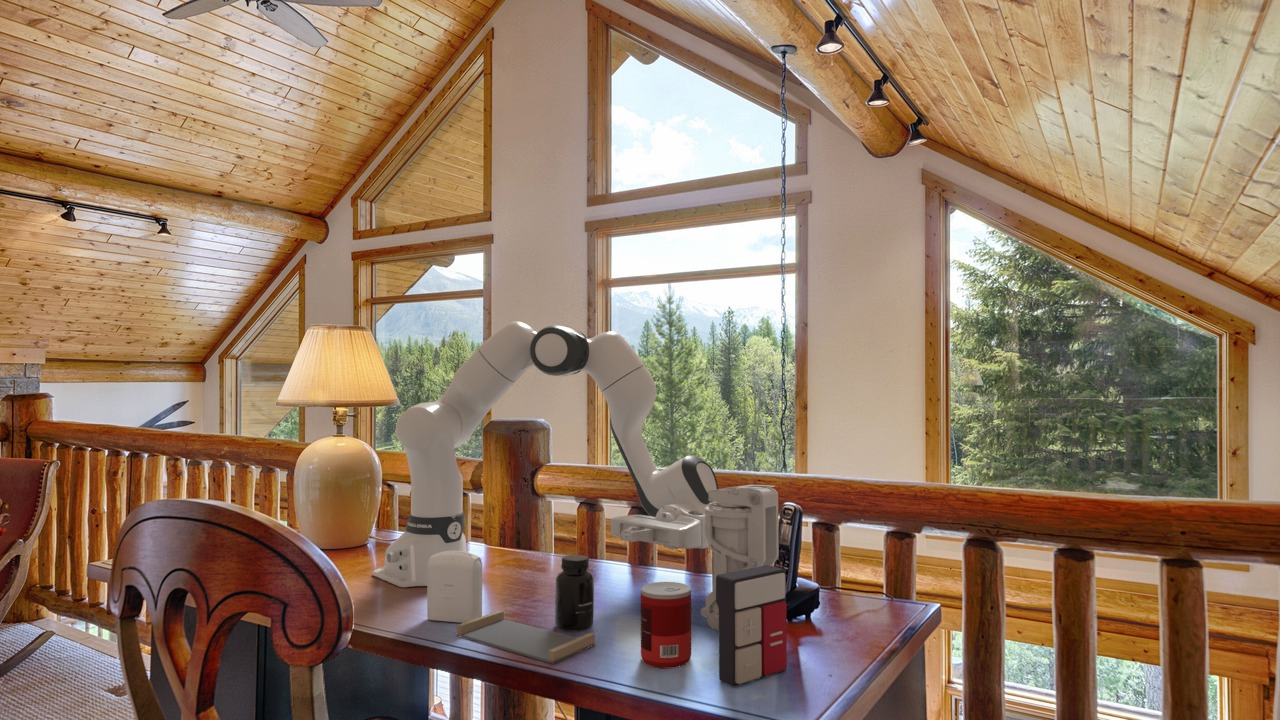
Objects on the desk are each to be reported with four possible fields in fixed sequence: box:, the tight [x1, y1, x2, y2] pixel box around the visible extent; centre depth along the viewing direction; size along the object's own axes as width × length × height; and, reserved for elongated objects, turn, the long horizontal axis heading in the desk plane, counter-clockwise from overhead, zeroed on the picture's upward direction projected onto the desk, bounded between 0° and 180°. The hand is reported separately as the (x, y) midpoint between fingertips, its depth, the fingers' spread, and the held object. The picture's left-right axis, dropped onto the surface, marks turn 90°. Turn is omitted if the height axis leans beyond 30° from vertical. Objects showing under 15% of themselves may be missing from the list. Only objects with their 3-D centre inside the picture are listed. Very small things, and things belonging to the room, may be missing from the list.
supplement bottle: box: [554, 554, 595, 632], centre depth 129 cm, size 7×7×12 cm
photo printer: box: [426, 551, 483, 624], centre depth 133 cm, size 10×4×12 cm, turn 74°
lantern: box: [700, 484, 780, 632], centre depth 130 cm, size 13×10×25 cm
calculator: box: [716, 565, 788, 688], centre depth 107 cm, size 11×4×15 cm, turn 126°
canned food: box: [640, 581, 692, 669], centre depth 113 cm, size 8×8×11 cm
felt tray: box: [456, 609, 596, 665], centre depth 122 cm, size 22×10×2 cm, turn 55°
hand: (626, 536), depth 138 cm, fingers closed
